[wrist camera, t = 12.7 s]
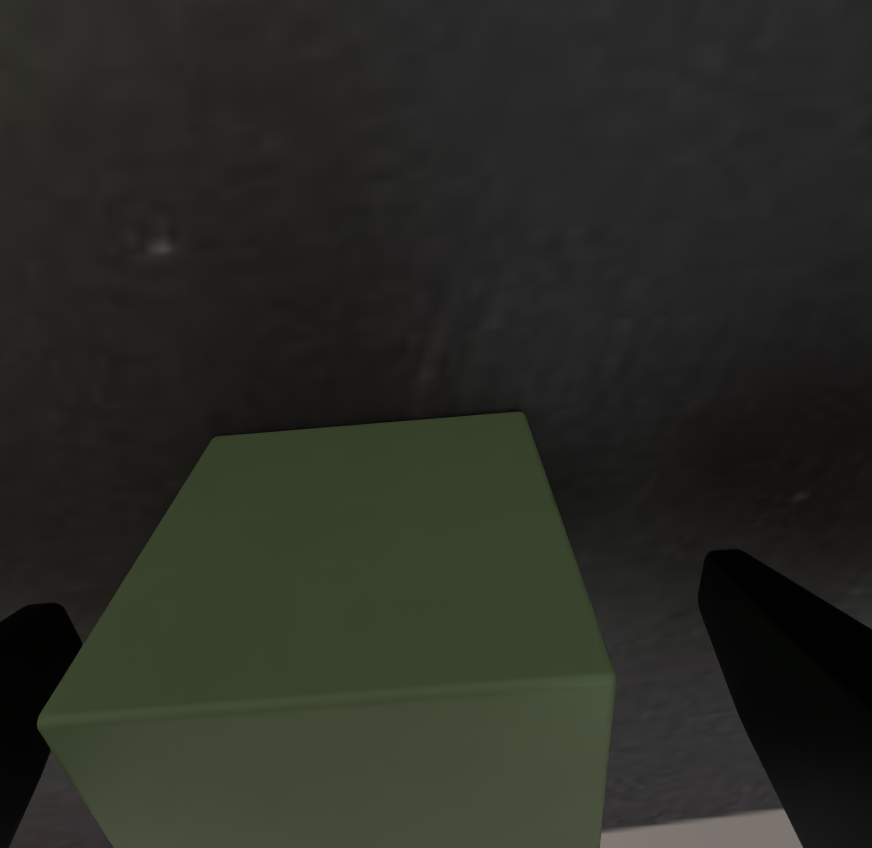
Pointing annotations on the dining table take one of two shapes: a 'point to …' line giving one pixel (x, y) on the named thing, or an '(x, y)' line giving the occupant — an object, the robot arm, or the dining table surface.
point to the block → (348, 653)
